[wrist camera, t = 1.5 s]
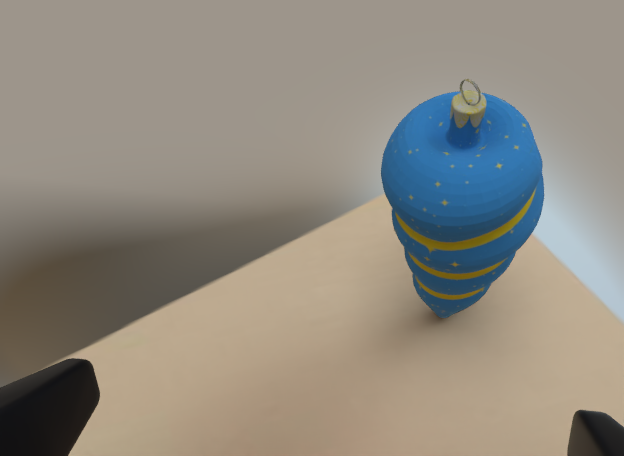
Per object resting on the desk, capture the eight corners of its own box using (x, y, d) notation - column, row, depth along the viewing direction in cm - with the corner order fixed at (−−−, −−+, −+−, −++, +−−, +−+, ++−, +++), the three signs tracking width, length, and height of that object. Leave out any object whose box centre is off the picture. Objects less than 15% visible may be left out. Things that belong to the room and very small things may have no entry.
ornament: (435, 378, 22) (471, 199, 10) (372, 301, 25) (337, 86, 12) (513, 318, 23) (639, 84, 10) (444, 251, 26) (478, 3, 13)
